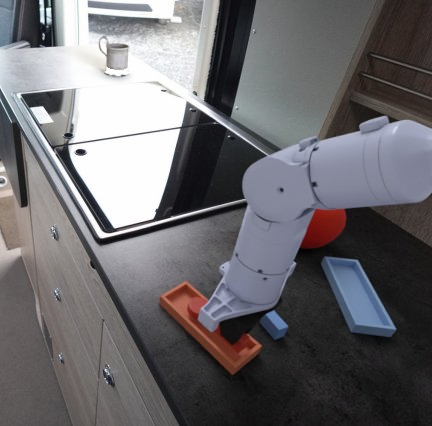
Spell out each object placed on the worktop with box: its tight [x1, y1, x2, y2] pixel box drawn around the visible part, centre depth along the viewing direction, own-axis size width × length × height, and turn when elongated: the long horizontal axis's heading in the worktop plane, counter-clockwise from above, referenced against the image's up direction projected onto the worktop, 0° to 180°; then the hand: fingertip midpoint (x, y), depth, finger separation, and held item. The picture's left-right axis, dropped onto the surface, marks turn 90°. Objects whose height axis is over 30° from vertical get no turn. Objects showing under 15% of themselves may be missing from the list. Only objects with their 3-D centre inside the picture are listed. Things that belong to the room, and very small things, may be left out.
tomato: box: [299, 209, 347, 250], centre depth 64 cm, size 11×12×10 cm
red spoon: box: [187, 297, 250, 353], centre depth 49 cm, size 9×3×2 cm, turn 36°
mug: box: [98, 35, 130, 70], centre depth 142 cm, size 14×10×12 cm
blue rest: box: [320, 256, 397, 338], centre depth 56 cm, size 14×5×2 cm, turn 172°
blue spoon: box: [258, 310, 289, 341], centre depth 53 cm, size 9×3×2 cm, turn 21°
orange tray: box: [158, 280, 263, 376], centre depth 51 cm, size 14×5×2 cm, turn 36°
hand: (233, 334), depth 47 cm, fingers closed on red spoon, 1 cm apart
